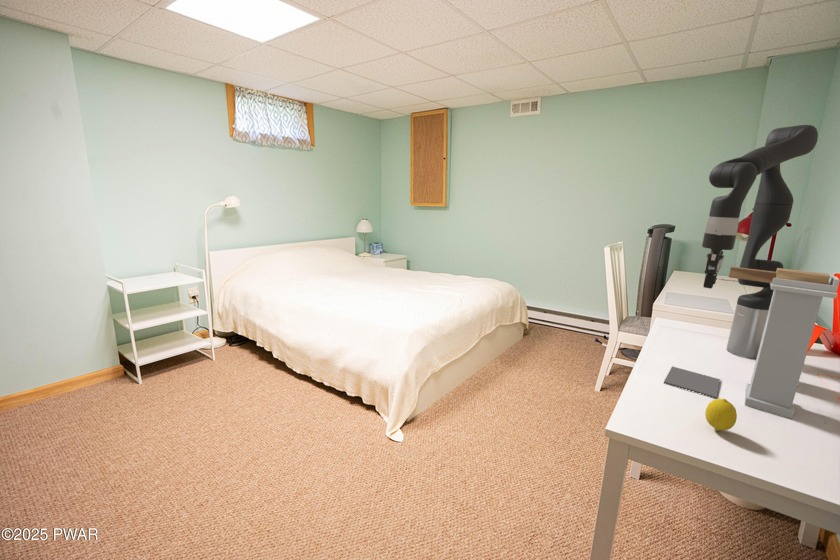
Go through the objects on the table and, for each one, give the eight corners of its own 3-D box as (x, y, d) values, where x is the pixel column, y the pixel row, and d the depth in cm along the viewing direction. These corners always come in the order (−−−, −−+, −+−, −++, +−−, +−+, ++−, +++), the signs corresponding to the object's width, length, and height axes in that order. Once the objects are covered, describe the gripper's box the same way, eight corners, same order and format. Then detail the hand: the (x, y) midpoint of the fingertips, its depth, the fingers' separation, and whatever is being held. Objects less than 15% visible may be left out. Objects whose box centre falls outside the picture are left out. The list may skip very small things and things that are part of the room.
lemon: (696, 423, 90) (703, 392, 88) (718, 423, 90) (725, 392, 89) (716, 438, 84) (723, 405, 83) (738, 437, 85) (747, 405, 83)
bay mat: (671, 367, 120) (672, 366, 119) (719, 380, 112) (719, 379, 112) (663, 383, 109) (663, 381, 109) (715, 398, 102) (715, 396, 102)
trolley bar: (729, 275, 103) (732, 262, 102) (823, 288, 92) (828, 273, 91) (728, 277, 100) (731, 264, 99) (826, 290, 89) (830, 276, 88)
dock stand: (743, 389, 107) (773, 268, 100) (797, 404, 100) (834, 274, 93) (742, 404, 99) (775, 273, 91) (800, 421, 92) (841, 281, 84)
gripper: (707, 230, 120) (697, 280, 124) (702, 232, 110) (691, 286, 113) (737, 233, 115) (726, 284, 119) (735, 235, 105) (722, 291, 108)
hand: (709, 285), depth 116 cm, fingers open, 8 cm apart
